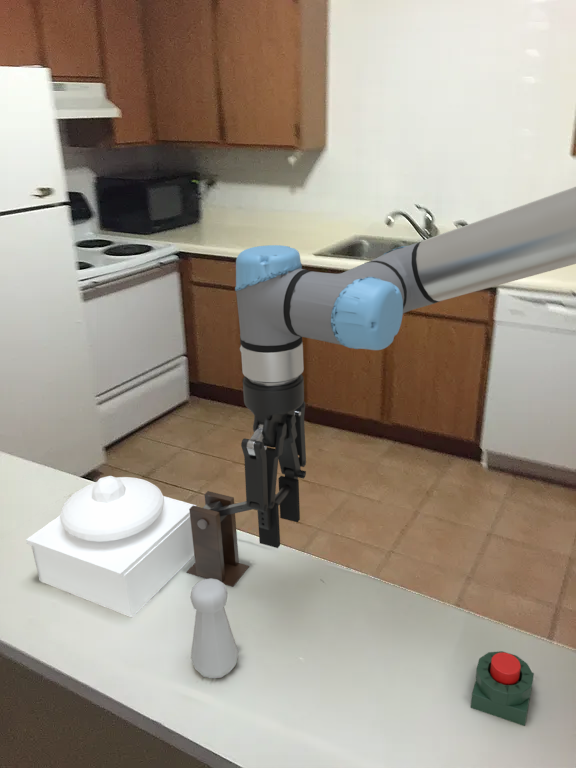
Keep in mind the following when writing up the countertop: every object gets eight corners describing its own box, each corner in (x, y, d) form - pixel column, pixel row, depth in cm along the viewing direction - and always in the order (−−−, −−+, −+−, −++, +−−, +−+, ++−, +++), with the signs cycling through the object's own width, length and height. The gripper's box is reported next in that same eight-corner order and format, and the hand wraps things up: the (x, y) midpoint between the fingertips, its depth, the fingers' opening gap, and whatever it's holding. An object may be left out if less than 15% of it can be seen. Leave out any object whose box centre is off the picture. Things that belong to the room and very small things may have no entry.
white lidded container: (204, 550, 105) (195, 463, 99) (130, 626, 91) (113, 529, 85) (118, 523, 113) (105, 440, 107) (37, 588, 99) (16, 497, 92)
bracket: (251, 570, 101) (246, 498, 96) (231, 595, 96) (225, 520, 91) (206, 556, 104) (199, 486, 99) (185, 580, 99) (176, 507, 94)
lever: (294, 495, 91) (287, 479, 91) (276, 516, 87) (268, 500, 86) (219, 512, 99) (211, 498, 98) (199, 532, 94) (191, 518, 94)
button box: (532, 686, 80) (536, 661, 78) (525, 726, 75) (529, 700, 73) (480, 669, 82) (482, 645, 81) (469, 708, 77) (472, 682, 76)
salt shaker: (185, 682, 82) (174, 598, 77) (204, 647, 87) (195, 567, 82) (229, 692, 80) (221, 607, 75) (246, 656, 85) (239, 575, 80)
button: (521, 668, 78) (522, 657, 77) (516, 689, 75) (518, 677, 74) (492, 660, 79) (494, 648, 78) (487, 680, 76) (489, 668, 76)
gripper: (278, 346, 91) (285, 491, 100) (206, 399, 76) (221, 564, 85) (329, 353, 88) (331, 501, 97) (265, 410, 73) (274, 580, 82)
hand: (280, 530), depth 91 cm, fingers closed on lever, 5 cm apart
